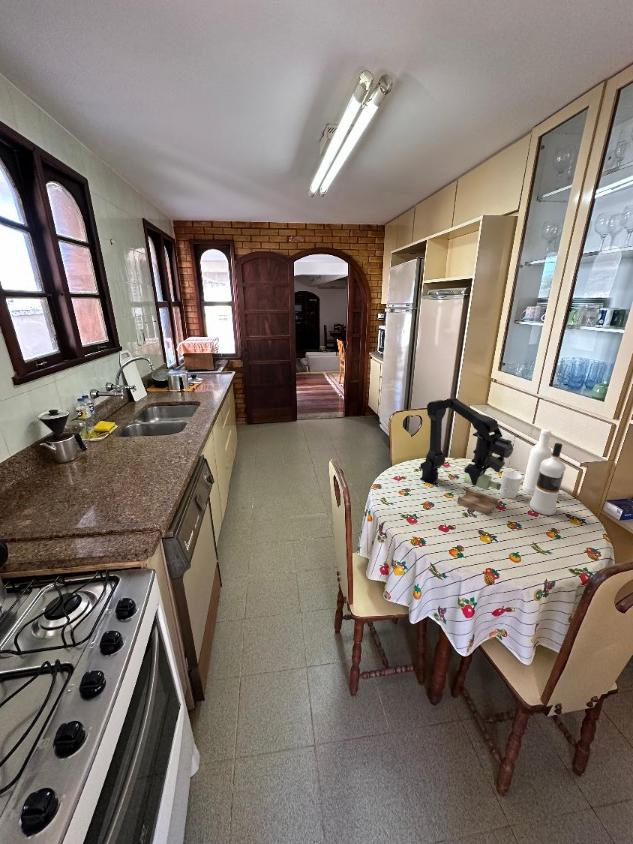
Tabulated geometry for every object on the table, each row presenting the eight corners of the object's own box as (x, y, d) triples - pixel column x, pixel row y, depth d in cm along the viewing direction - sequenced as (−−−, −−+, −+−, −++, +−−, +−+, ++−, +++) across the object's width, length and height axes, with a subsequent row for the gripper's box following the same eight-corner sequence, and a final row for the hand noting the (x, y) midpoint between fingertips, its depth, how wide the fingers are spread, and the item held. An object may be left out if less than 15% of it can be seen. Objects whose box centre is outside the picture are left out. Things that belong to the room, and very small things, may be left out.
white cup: (516, 501, 151) (520, 481, 147) (496, 495, 155) (500, 475, 152) (519, 493, 157) (523, 474, 153) (500, 488, 161) (504, 469, 158)
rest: (457, 503, 149) (458, 497, 148) (466, 494, 156) (467, 488, 155) (488, 515, 140) (489, 509, 139) (497, 505, 148) (498, 499, 147)
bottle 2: (545, 495, 155) (561, 433, 145) (527, 495, 155) (542, 433, 145) (535, 486, 163) (550, 426, 153) (518, 486, 163) (532, 426, 153)
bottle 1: (463, 484, 147) (465, 471, 145) (468, 479, 151) (470, 467, 149) (496, 496, 139) (498, 483, 137) (501, 490, 143) (503, 477, 141)
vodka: (535, 501, 151) (551, 437, 141) (559, 511, 144) (577, 445, 134) (524, 507, 146) (540, 442, 136) (548, 518, 139) (566, 450, 129)
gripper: (496, 462, 129) (489, 498, 134) (511, 447, 142) (504, 481, 147) (466, 453, 136) (460, 488, 141) (483, 440, 149) (477, 472, 154)
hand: (476, 482), depth 146 cm, fingers closed on bottle 1, 6 cm apart
